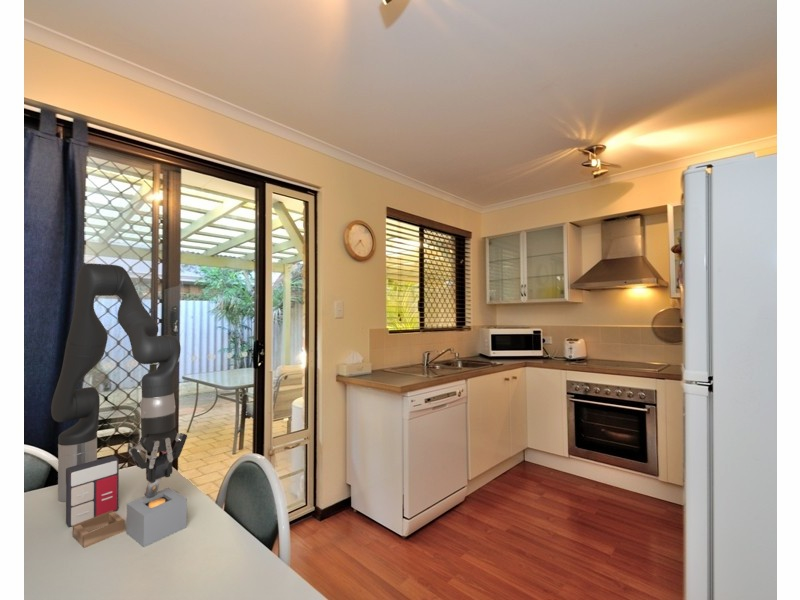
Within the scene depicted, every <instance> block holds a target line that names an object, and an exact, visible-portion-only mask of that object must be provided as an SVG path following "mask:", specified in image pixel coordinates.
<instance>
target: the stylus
mask: <svg viewBox="0 0 800 600" xmlns="http://www.w3.org/2000/svg"><path fill="white" fill-rule="evenodd" d="M168 465H169V460H168V459H167V457H166V455H165V454H164V455H163V454H160V455H157V458H156V459H155V465H154V468H155V482H154V483H150V482H149V481H147V482H148V483H147V486H146V489H145V492H144V497H147V498H153V497H154V496H155V495H156V493H157V492H158V491H159V487H160V483H161V480H162V478H164V477H165V474H166V471H167V468H168ZM165 478H166V477H165Z"/></svg>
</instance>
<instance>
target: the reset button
mask: <svg viewBox="0 0 800 600" xmlns="http://www.w3.org/2000/svg"><path fill="white" fill-rule="evenodd" d="M162 503H165V499H164V498H159V499H155V500H152V501H151V502H150V503H149V508H153V507H155V506H157V505H160V504H162Z"/></svg>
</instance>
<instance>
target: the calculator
mask: <svg viewBox="0 0 800 600" xmlns="http://www.w3.org/2000/svg"><path fill="white" fill-rule="evenodd" d="M119 463H120V461H119V458H118V457H117V456H116V455H109V456H107V457H102V458H100V459H97V460H95V461H91V462H87V463H83V464H80V465H76V466H72V467H68V468H67V469H66V502H65V523H66V526H67V527H68V528H73V525H75V524H78V523H80V522H83V521H85V520H88V519H91V518H93V517H96V516H98V515H101V514H104V513H106V512H109V511H111V510H113V511H114V512H117V511H118V510H119V485H120V483H119V477H120V476H119V472H120V471H119V469H120V468H119V467H120V466H119Z"/></svg>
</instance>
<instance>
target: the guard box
mask: <svg viewBox="0 0 800 600" xmlns="http://www.w3.org/2000/svg"><path fill="white" fill-rule="evenodd" d="M159 498H164V499H165V503H162V504H160V505H157V506H155V507H153V508H149V503H150V502H151V501H152V500H155V499H159ZM187 504H188V503H187V497H185V496H184V495H182V494H180V493H179V492H177V491H175V490H173V489H172V488H170V487H166V488H164V489H160V490H157V493H156V495H155V496H154V497H153V498H147V497H145V496H142V497H140V498H137V499H135V500H132V501H129V502H127V503H126V535H127V536H129V537H130V538H131V539H132V540H134V541H135V542H136V543H137V544H138V545H140V546H141V547H142V548H146V547H148V546H151V545H153V544H155V543H157V542H159V541H161V540H163V539H166V538H167V537H170V536H171V535H174V534H176V533H178V532H180V531H183V530H185V529H187V522H188V521H187V518H188V517H187Z"/></svg>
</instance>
